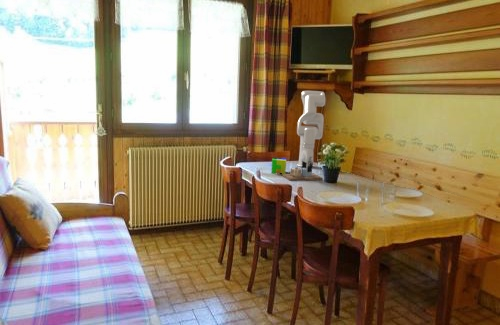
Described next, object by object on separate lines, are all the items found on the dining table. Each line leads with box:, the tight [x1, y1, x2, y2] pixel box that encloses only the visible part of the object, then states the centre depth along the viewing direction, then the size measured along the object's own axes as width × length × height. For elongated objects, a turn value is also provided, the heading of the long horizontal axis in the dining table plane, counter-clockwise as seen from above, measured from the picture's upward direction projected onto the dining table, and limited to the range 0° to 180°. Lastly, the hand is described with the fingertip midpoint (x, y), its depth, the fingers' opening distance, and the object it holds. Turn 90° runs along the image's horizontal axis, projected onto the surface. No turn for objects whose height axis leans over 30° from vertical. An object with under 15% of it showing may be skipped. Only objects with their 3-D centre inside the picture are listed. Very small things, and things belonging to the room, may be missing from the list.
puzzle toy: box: [271, 156, 287, 175], centre depth 285 cm, size 10×10×10 cm
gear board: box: [281, 166, 323, 182], centre depth 271 cm, size 14×24×8 cm, turn 105°
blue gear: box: [301, 167, 313, 177], centre depth 272 cm, size 7×7×5 cm
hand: (306, 170), depth 272 cm, fingers open, 9 cm apart
